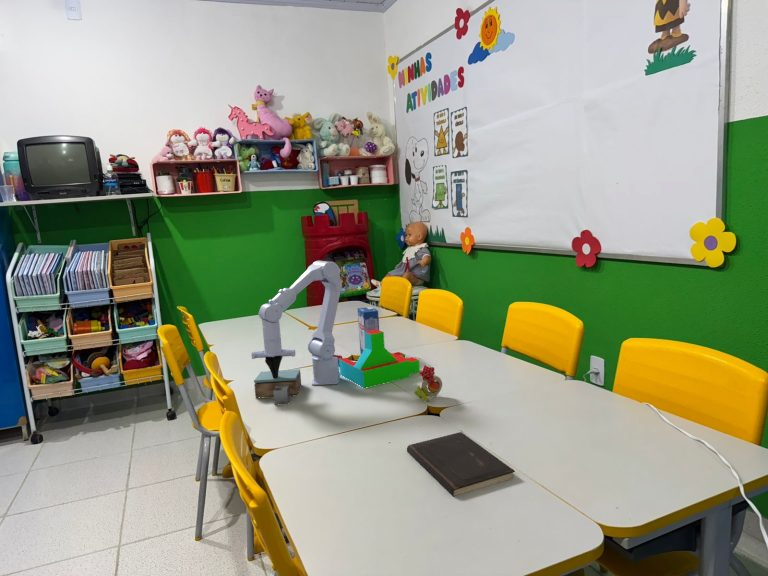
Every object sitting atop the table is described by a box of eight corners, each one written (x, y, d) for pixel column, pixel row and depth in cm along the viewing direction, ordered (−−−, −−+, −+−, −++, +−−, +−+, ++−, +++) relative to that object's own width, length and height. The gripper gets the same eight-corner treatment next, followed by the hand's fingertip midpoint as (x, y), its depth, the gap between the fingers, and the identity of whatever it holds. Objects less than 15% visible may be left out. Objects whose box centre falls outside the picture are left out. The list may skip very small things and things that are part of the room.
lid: (300, 371, 184) (300, 369, 184) (295, 380, 173) (295, 377, 173) (261, 373, 184) (261, 371, 184) (254, 382, 173) (253, 380, 173)
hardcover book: (461, 439, 136) (461, 431, 135) (515, 480, 115) (514, 470, 114) (407, 454, 130) (406, 445, 129) (453, 499, 109) (452, 489, 108)
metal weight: (290, 399, 171) (289, 385, 170) (288, 404, 167) (287, 389, 166) (277, 400, 171) (275, 385, 170) (274, 405, 166) (273, 390, 166)
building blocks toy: (423, 374, 189) (421, 326, 186) (364, 389, 177) (361, 338, 174) (396, 362, 205) (393, 318, 202) (340, 376, 193) (336, 328, 190)
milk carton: (360, 353, 219) (357, 308, 216) (374, 351, 221) (371, 306, 218) (366, 360, 210) (363, 312, 207) (381, 357, 212) (378, 310, 209)
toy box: (301, 384, 185) (300, 371, 184) (296, 395, 174) (295, 381, 173) (262, 387, 184) (261, 373, 184) (255, 398, 174) (254, 384, 173)
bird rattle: (429, 400, 169) (407, 395, 164) (440, 367, 169) (418, 362, 165) (440, 406, 163) (417, 401, 159) (451, 372, 164) (428, 366, 159)
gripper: (247, 343, 169) (251, 382, 171) (291, 340, 169) (295, 380, 171) (252, 337, 176) (256, 375, 178) (295, 335, 176) (298, 373, 178)
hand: (275, 377), depth 175 cm, fingers closed, pressing on lid
